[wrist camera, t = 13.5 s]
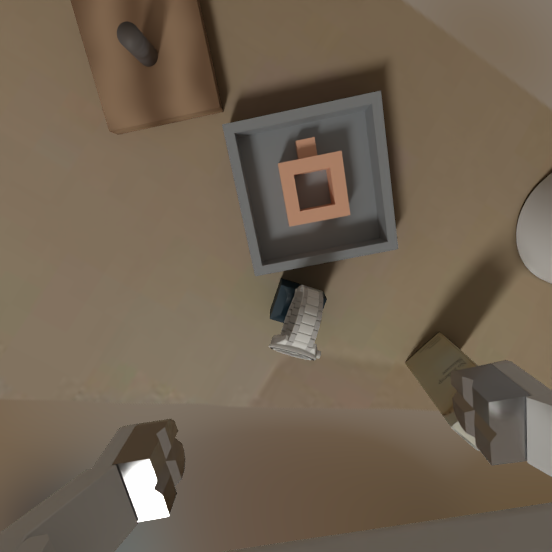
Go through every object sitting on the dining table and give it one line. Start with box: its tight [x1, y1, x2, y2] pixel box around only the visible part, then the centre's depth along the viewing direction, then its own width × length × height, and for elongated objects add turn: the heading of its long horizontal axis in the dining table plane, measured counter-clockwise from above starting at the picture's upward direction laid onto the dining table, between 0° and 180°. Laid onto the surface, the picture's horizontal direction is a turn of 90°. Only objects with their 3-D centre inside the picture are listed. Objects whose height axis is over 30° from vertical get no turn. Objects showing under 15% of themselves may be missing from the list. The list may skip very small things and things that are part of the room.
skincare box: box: [405, 332, 479, 450], centre depth 37 cm, size 6×4×12 cm
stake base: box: [71, 0, 223, 134], centre depth 32 cm, size 12×12×6 cm
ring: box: [278, 137, 350, 227], centre depth 36 cm, size 7×9×3 cm
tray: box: [222, 91, 398, 276], centre depth 37 cm, size 16×16×4 cm
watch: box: [269, 278, 327, 360], centre depth 36 cm, size 6×8×11 cm
